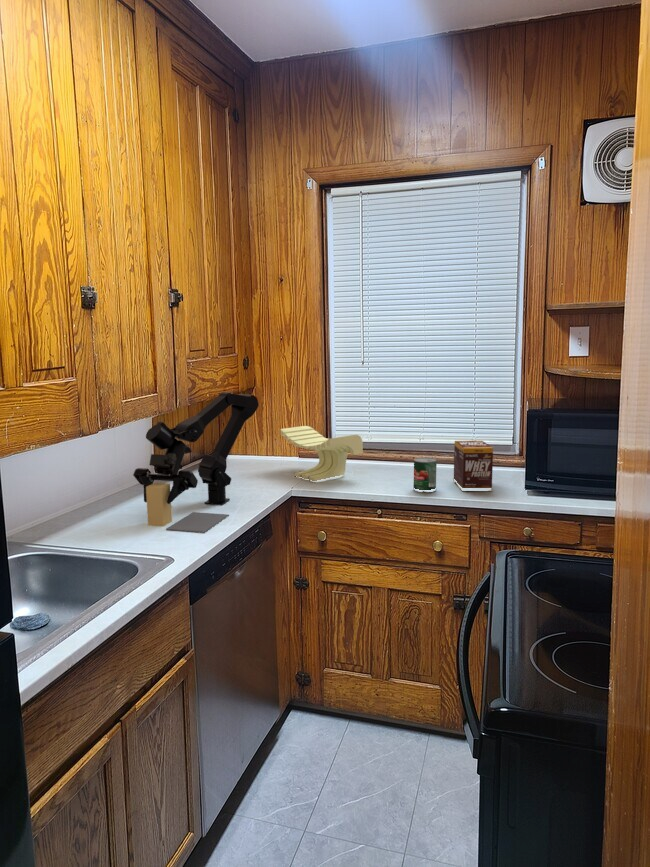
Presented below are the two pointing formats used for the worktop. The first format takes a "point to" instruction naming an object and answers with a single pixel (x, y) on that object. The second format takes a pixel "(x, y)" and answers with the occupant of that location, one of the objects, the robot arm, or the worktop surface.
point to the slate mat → (197, 522)
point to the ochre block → (158, 504)
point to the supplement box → (473, 464)
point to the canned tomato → (425, 473)
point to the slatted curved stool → (324, 451)
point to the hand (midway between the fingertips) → (156, 502)
